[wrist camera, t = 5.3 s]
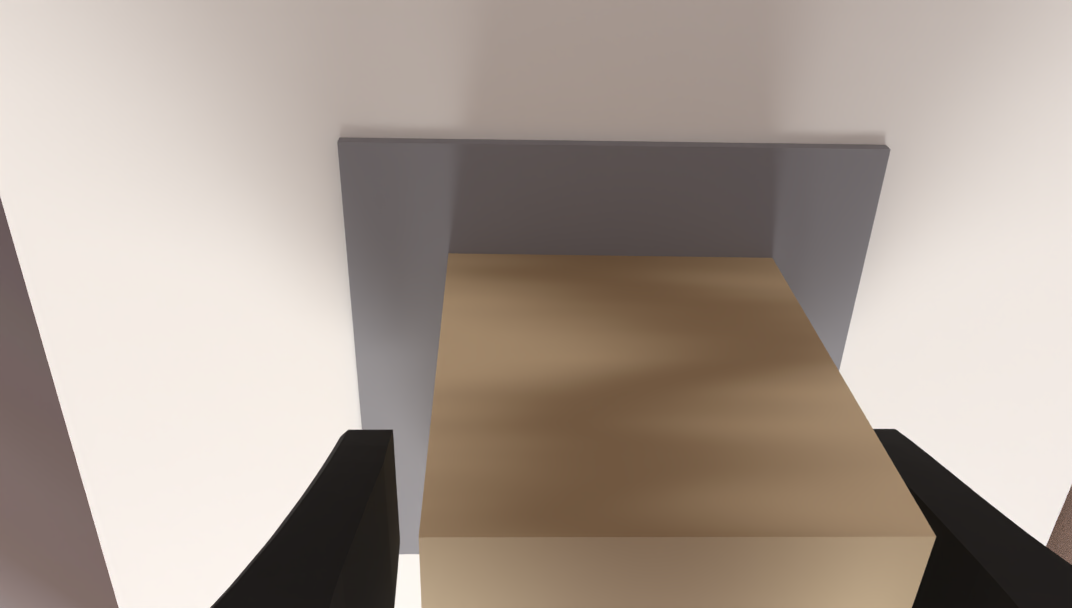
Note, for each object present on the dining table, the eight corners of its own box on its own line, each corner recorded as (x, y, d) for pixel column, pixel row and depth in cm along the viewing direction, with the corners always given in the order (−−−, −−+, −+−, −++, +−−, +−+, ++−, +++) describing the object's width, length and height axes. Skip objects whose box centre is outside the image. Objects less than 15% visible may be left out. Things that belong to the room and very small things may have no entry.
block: (772, 257, 14) (936, 536, 9) (727, 503, 16) (833, 834, 11) (448, 253, 14) (418, 537, 8) (452, 502, 16) (430, 840, 11)
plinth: (1254, -235, 13) (1388, -241, 11) (939, 634, 22) (982, 716, 20) (-48, -280, 12) (-152, -293, 10) (180, 643, 21) (148, 729, 19)
